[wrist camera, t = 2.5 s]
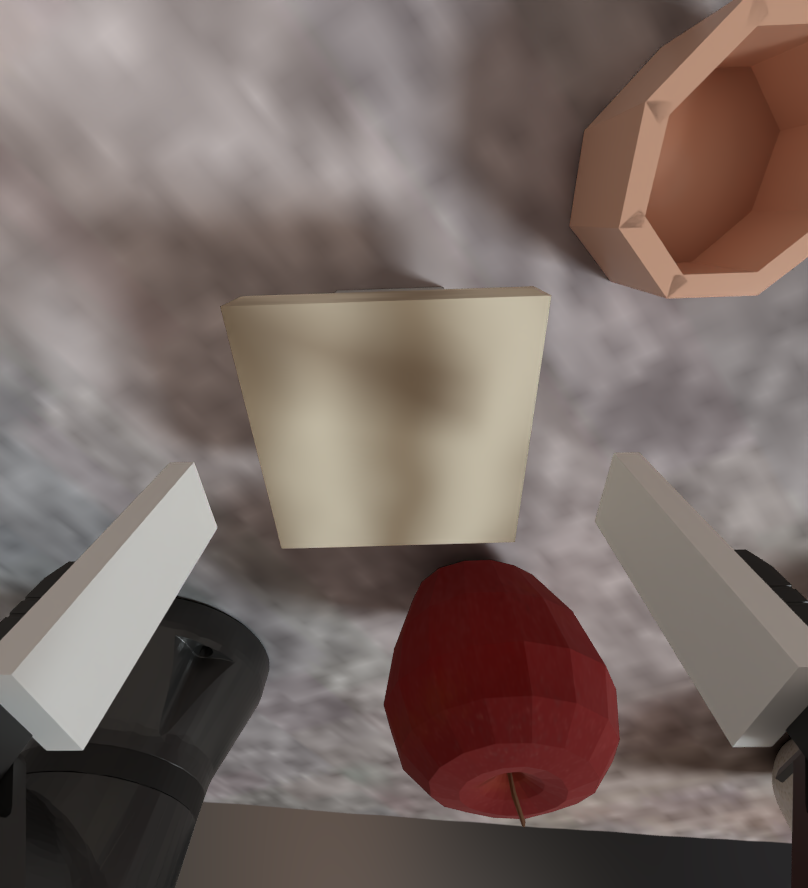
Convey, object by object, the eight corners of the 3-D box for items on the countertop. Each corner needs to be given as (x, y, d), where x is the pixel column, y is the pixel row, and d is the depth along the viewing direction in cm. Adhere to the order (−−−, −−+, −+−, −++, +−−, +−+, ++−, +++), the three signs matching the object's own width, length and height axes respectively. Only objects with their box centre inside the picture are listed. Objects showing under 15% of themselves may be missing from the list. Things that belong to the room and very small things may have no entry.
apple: (564, 510, 25) (702, 756, 14) (549, 625, 31) (637, 865, 20) (379, 525, 26) (362, 775, 14) (398, 635, 32) (397, 876, 20)
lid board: (291, 520, 20) (281, 548, 19) (241, 296, 15) (220, 306, 13) (504, 514, 20) (514, 542, 18) (533, 286, 15) (551, 295, 13)
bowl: (560, 283, 18) (603, 300, 15) (596, 49, 14) (669, -13, 11) (732, 277, 18) (821, 293, 14) (816, 41, 14) (971, -24, 10)
